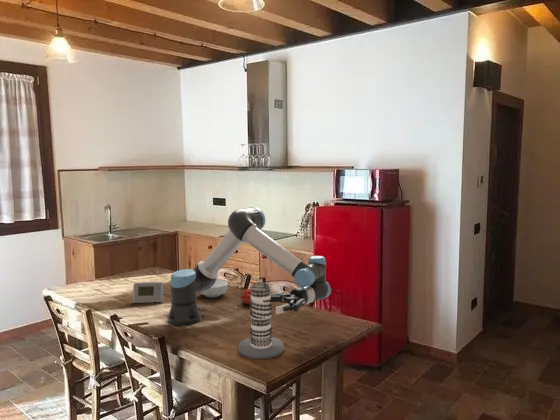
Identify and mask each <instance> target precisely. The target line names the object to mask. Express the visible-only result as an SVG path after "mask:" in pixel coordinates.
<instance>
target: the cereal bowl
mask: <svg viewBox="0 0 560 420" xmlns="http://www.w3.org/2000/svg"><path fill="white" fill-rule="evenodd" d="M228 286H229V285H228V282H227V281H226V280H219V279H216V282H215V284H214V285H213V286H212V287H211V288H209V289H207V290H204V291H202V292H200V293H199V294H201V295H203V296H205V297H207V298H218V297H220V296H221V295H223V294H225V293H226V292H227V290H228Z"/></svg>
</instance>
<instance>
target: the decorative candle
mask: <svg viewBox="0 0 560 420" xmlns="http://www.w3.org/2000/svg"><path fill="white" fill-rule="evenodd" d="M271 288H272V287H271V285H269V284H268V283H267V282H265V281H257V282H254V283H253V284H252V285H251V286H250V288H249V289H251V298H250V300H249V302H250V303H249V304H250V305H249V304H248V305H249V307H250V308H249V315H250V318H251V323H250V329H249V330H250V332H249V333H250V337H249V338H251V341H250V342H251V346H252V347H253V348H257V349H265V348H268V347H270V346H271V345H272V343H271V342H272V339H271V338H272V337H273V335H272V328H273V327H272V322H271V318H272V312H271V310H273V308H272V306H273V303H272V302H270V301H272V298H271V294H272V293H271ZM251 300H252V301H251ZM251 304H252V305H251Z"/></svg>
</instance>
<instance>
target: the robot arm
mask: <svg viewBox="0 0 560 420" xmlns="http://www.w3.org/2000/svg"><path fill="white" fill-rule="evenodd" d="M265 224H266V216H265V214H264V212H263V211H262V209H260V208H259V207H256V206H248V207H246V208H244V207H243V208H239V209H236V210H234V211H232V212H231V214H230V215H229V217H228V219H227V226H228V228H229V230H228V232H227V233H225V235H224V236H223V238H221V240H220V241H219V242H218V244H217V245H216V246H215V247H214V249H212V251H211V252H210V254H208V256H207V257H206V258H205V260H201V261H199V262H198V263H197V264H196V265H195V267H194V268H193V269H191V268H183V269H178V270H176V271H174V272H173V273H172V274H171V275H170V282H169V285H170V298H171V299H170V300H171V303H170V304H171V306H170V309H169V312H168V314H167V315H168V317H167V323H168V324H170V325H172V326H173V325H174V326H189V325H190V326H191V325H194V324H196V323H197V324H198V322H200V321H201V312H200V309H199V308H198V304H197V294H201V293H200V292H202V291H204V290H207V289H209V288H211V287H212V286H213V285H214V284H215V282H216V280H217V279H218V277H219V271H220V270H221V269H222V267H223V266H224V265H225V264H226V263H227V262H228V260H229V259H230V258H231V257H232V256H233V255H234V253H235V252H236V251H237V250H238V249H239V248H240V246H241V245H242V244H243V243H247V244H248V245H250V246H251V247H253V248H254V249H255V250H256V251H258V252H260V253H261V254H262V255H263V256H265V257H266V258H267V259H269V260H270V261H272V262H273V263H274V264H276V265H277V266H278V267H279V268H281V269H282V270H283V271H285V272H286V273H288V274H289V275H290V276H292V277H293V278H294V282H295V284H296V285H297V286H298V287H297V288H293V289H292V290H291V291H290V293H285V292H283V291H282V292H277V293H270V294H271V298H272V301H270V303H280V304H282V305H279V306H278V305H277V306H275V315H281V314H282V313H285V312H290V311H293V312H298V311H299V310H300V309H301V308H302V307H303V306H305V305H309V304H310V303H314V302H317V301H322V300H324V299H327V298H328V297H329V296H330V295H331V294H332V293H331V292H332V288H331V286H330V284H329V282H328V281H327V278H326V277H327V276H326V275H327V274H326V272H327V270H326V269H327V262H326V261H327V260H326V258H325V257H324V256H323V255H311V256H309V258H308V264H306V263H305V262H304V261H303V260H302V259H300V258H298V257H297V256H295V254H293V253H292V252H290V251H289V250H287V249H286V248H285V247H284V246H282V245H281V244H280V243H278V242H276V241H275V240H274V239H272V238H271V237H270V236H268V235H267V234H266V233H264V232H263V231H262V229H263V228H264V227H265Z"/></svg>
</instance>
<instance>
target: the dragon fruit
mask: <svg viewBox="0 0 560 420" xmlns="http://www.w3.org/2000/svg"><path fill="white" fill-rule="evenodd" d="M250 298H251V288H246V289H243V290H242V292H241V293H240V296H239V299H240V300H242V303H243V304H247V305H250V304H249V303H250V302H249V300H250ZM251 301H252V300H251ZM251 306H252V304H251Z"/></svg>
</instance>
